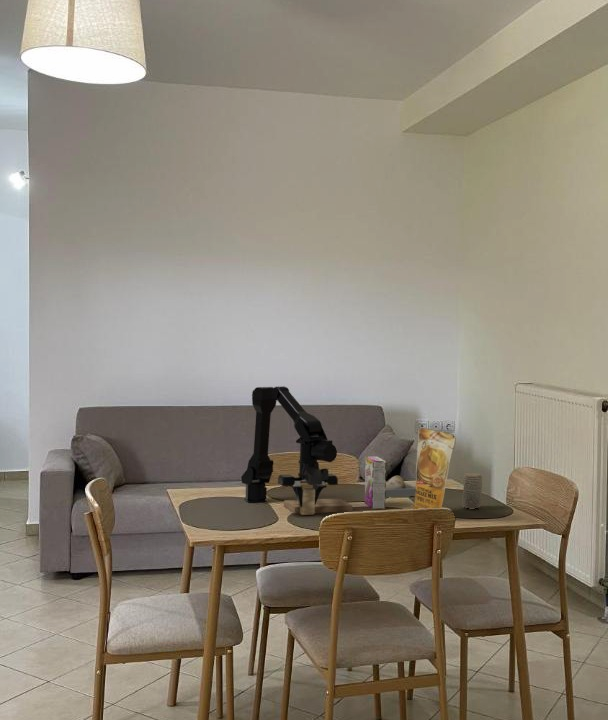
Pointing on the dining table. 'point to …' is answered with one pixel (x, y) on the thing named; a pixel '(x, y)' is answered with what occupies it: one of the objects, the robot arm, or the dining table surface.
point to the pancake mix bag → (432, 466)
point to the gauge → (308, 501)
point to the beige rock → (395, 483)
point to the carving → (472, 490)
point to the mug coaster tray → (401, 492)
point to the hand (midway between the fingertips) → (307, 506)
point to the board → (320, 506)
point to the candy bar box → (375, 482)
